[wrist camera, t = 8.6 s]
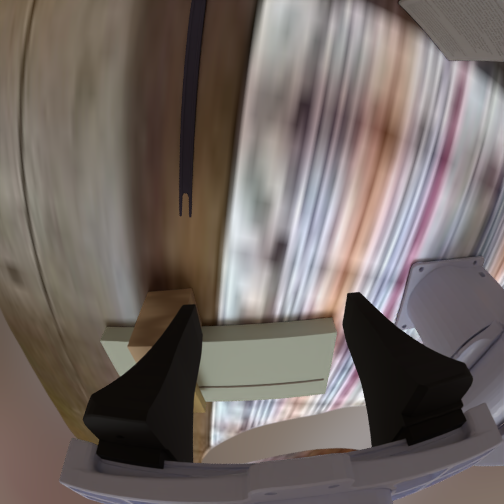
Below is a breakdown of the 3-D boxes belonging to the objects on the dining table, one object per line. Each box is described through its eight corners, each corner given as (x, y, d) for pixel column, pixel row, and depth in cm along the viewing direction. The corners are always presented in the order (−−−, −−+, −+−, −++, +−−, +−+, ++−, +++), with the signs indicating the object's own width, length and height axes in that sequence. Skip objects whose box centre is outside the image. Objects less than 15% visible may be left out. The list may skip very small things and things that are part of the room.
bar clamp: (140, -116, 6) (283, -122, 6) (148, -103, 8) (279, -107, 8) (115, 268, 23) (237, 279, 23) (124, 252, 25) (238, 261, 25)
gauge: (191, 288, 25) (179, 345, 19) (219, 377, 31) (216, 427, 25) (148, 291, 25) (127, 346, 19) (184, 378, 31) (177, 427, 25)
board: (332, 317, 27) (337, 332, 25) (321, 379, 32) (325, 394, 30) (106, 326, 27) (99, 341, 25) (137, 385, 32) (133, 398, 30)
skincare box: (470, 35, 14) (585, 40, 3) (447, 62, 15) (572, 75, 5) (421, -23, 12) (528, -58, 1) (394, 1, 13) (509, -39, 3)
